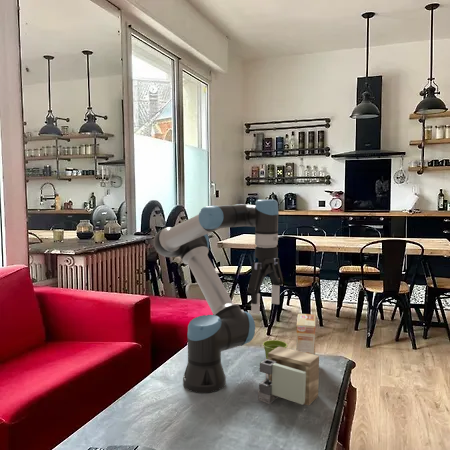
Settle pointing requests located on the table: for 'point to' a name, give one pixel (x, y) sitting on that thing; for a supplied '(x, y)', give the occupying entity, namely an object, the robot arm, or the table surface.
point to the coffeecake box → (306, 333)
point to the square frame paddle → (283, 381)
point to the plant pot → (273, 345)
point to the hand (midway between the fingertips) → (265, 308)
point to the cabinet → (296, 361)
